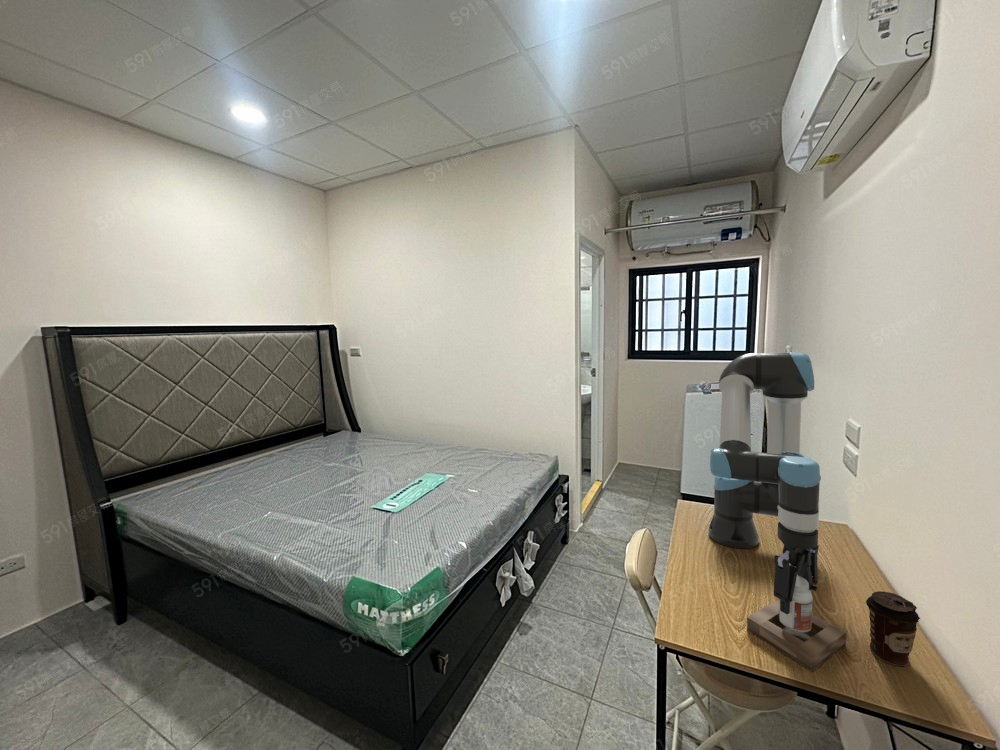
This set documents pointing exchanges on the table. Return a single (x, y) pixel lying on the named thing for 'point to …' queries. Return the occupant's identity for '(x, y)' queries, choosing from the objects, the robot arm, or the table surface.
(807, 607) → the pill bottle
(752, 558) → the table surface
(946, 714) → the table surface
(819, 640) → the bore block
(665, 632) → the table surface
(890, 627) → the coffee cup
